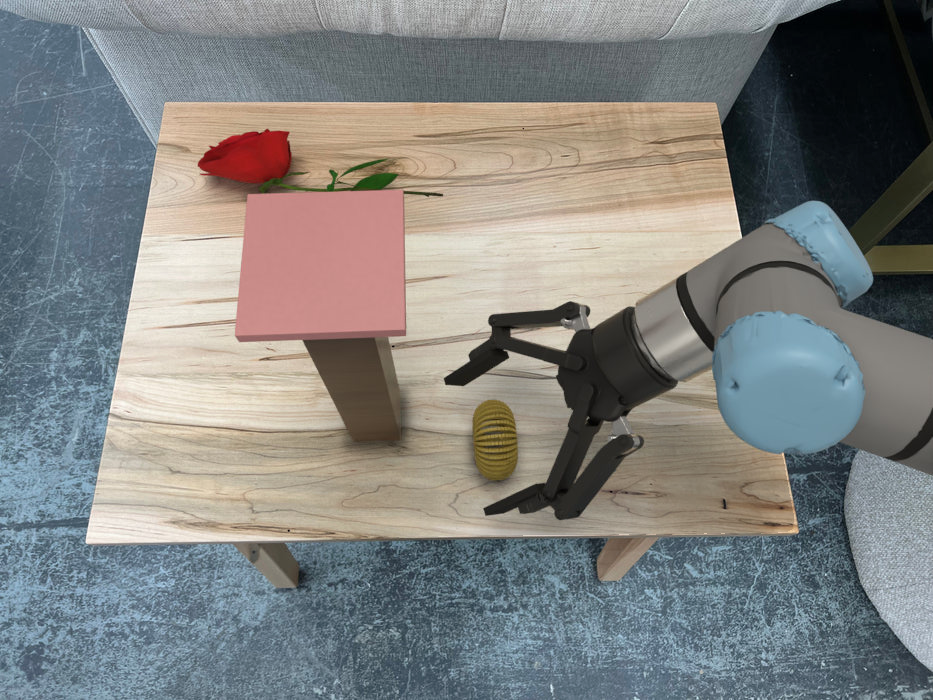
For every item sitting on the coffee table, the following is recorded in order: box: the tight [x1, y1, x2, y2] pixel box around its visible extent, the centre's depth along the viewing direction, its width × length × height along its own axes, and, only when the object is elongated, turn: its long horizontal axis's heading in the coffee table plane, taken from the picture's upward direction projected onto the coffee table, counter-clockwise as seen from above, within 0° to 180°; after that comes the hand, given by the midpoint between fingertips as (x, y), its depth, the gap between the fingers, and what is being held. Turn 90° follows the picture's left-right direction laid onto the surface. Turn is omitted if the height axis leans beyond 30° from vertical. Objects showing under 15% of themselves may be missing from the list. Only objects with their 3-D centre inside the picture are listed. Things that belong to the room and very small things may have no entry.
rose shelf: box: [234, 189, 407, 343], centre depth 43 cm, size 10×10×1 cm
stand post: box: [301, 337, 402, 443], centre depth 58 cm, size 5×5×32 cm
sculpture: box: [472, 399, 519, 482], centre depth 68 cm, size 8×4×8 cm, turn 5°
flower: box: [197, 128, 444, 198], centre depth 80 cm, size 9×10×30 cm
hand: (472, 444), depth 67 cm, fingers open, 13 cm apart
